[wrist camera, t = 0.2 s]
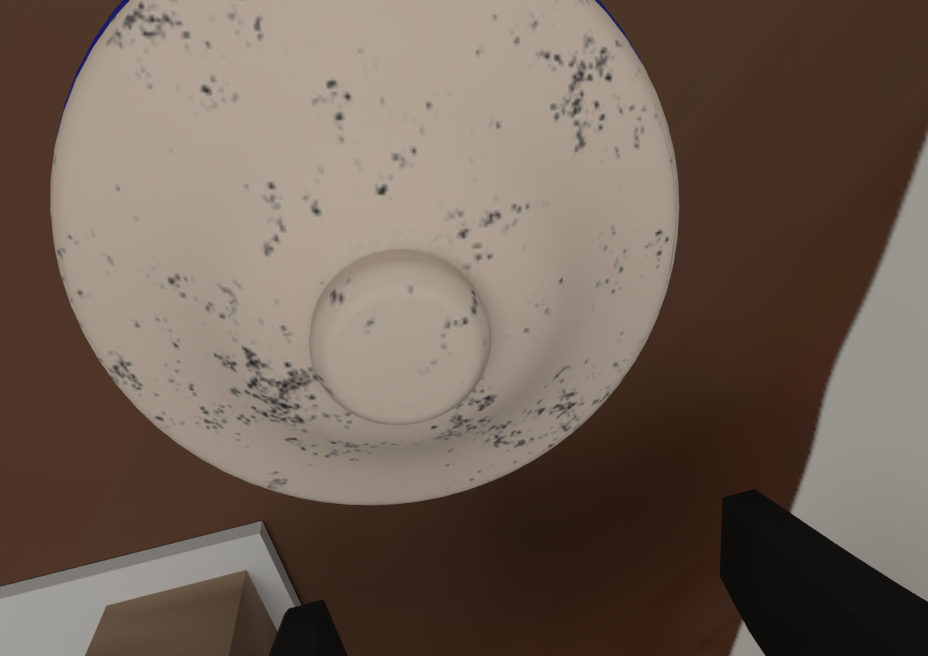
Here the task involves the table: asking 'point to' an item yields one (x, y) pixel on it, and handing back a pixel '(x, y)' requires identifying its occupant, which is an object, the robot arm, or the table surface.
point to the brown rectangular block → (188, 622)
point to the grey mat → (134, 588)
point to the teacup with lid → (365, 231)
